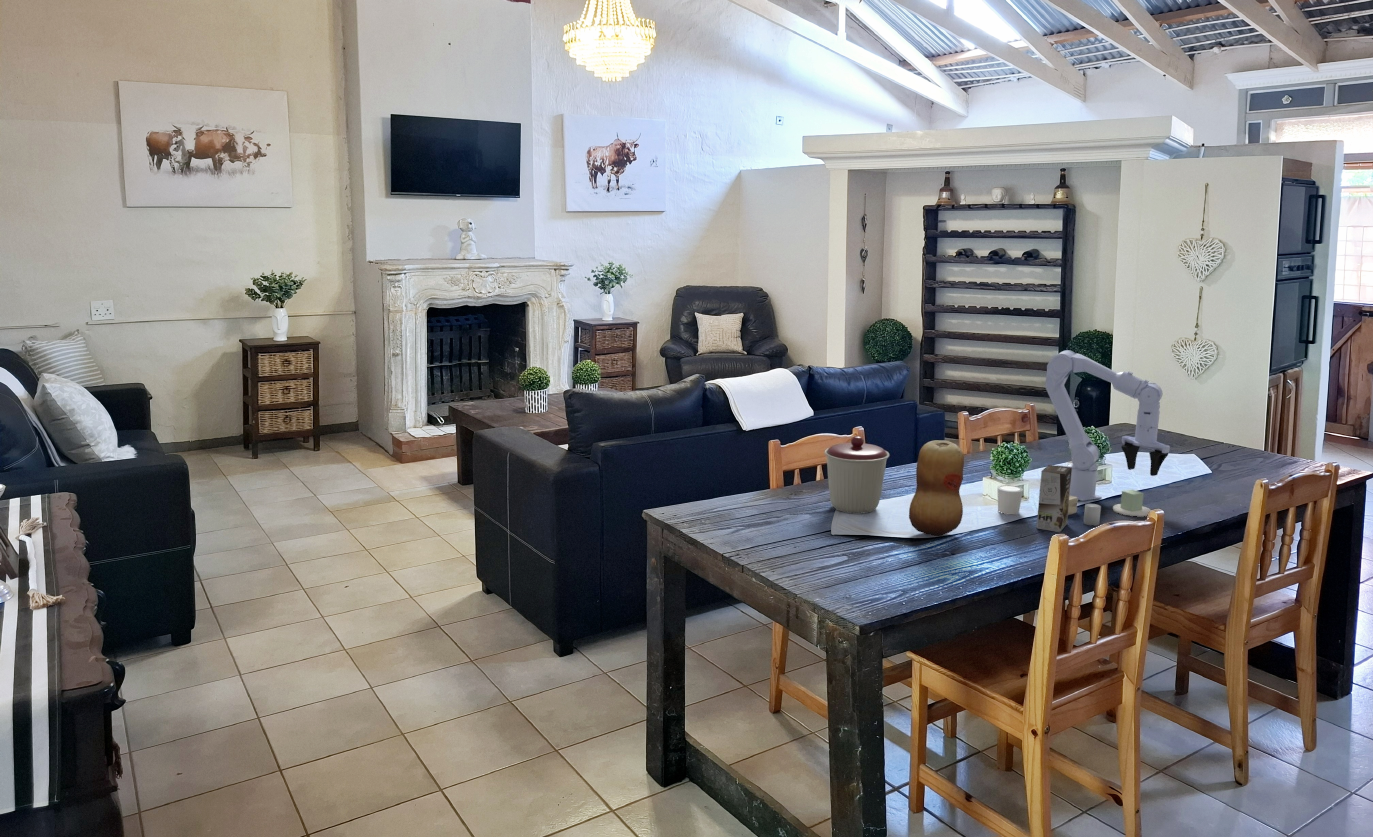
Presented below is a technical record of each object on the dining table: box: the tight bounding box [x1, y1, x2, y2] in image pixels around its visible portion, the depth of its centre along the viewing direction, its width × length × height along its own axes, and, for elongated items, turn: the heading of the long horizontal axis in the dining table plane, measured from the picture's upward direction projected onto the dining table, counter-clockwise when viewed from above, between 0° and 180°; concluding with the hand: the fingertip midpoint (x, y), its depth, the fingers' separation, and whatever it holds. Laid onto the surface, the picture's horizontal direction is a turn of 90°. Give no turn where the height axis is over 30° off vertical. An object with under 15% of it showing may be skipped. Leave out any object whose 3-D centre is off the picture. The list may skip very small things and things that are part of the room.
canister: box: [824, 435, 890, 514], centre depth 287 cm, size 18×18×21 cm
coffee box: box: [1036, 464, 1072, 533], centre depth 273 cm, size 9×6×16 cm
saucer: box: [1112, 503, 1152, 518], centre depth 288 cm, size 10×10×1 cm
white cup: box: [997, 484, 1024, 515], centre depth 287 cm, size 7×7×7 cm
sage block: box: [1120, 489, 1145, 512], centre depth 288 cm, size 4×4×5 cm
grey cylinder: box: [1083, 503, 1102, 527], centre depth 277 cm, size 4×4×5 cm
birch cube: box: [1068, 496, 1079, 516], centre depth 287 cm, size 4×4×4 cm
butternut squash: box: [908, 439, 965, 537], centre depth 264 cm, size 14×13×25 cm
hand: (1142, 472), depth 293 cm, fingers open, 7 cm apart
